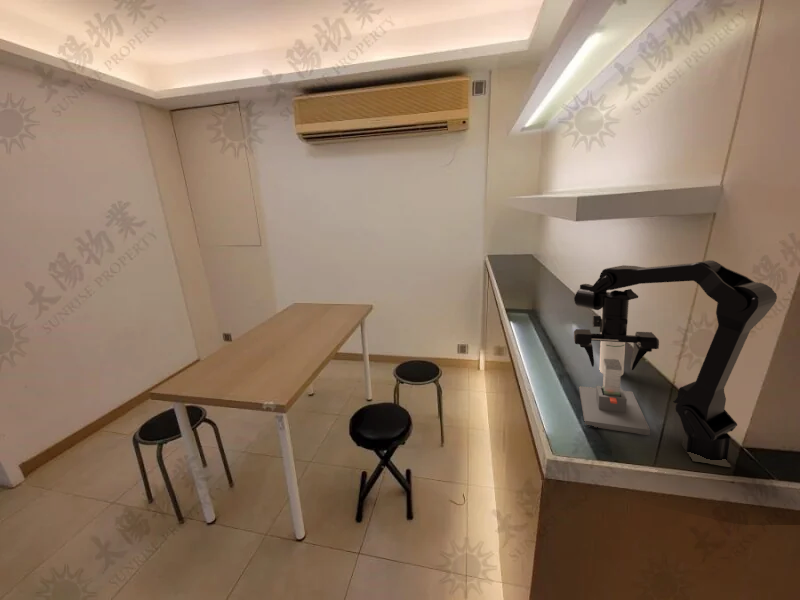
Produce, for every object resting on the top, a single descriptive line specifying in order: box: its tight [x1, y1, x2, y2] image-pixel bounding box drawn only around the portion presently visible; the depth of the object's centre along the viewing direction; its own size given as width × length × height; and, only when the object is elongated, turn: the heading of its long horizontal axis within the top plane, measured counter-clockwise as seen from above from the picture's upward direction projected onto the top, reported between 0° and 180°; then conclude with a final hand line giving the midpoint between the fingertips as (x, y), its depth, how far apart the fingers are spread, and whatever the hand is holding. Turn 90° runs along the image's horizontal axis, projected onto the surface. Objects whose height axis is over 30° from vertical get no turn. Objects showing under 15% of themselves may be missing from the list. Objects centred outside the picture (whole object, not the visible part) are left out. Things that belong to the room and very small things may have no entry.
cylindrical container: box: [598, 307, 626, 377], centre depth 112 cm, size 7×7×25 cm
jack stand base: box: [578, 385, 651, 436], centre depth 92 cm, size 14×20×6 cm
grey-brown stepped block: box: [602, 359, 622, 397], centre depth 90 cm, size 4×5×9 cm
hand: (611, 367), depth 90 cm, fingers open, 9 cm apart
